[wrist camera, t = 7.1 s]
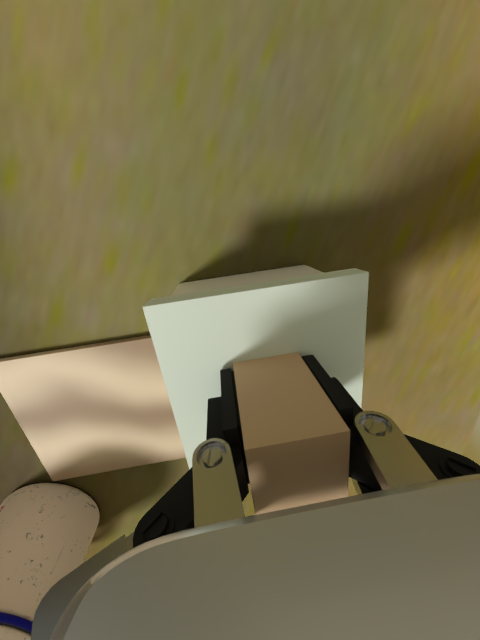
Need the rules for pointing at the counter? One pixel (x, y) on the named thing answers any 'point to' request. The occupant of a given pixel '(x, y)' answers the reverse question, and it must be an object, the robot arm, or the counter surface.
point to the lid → (269, 375)
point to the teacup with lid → (39, 548)
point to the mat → (93, 407)
